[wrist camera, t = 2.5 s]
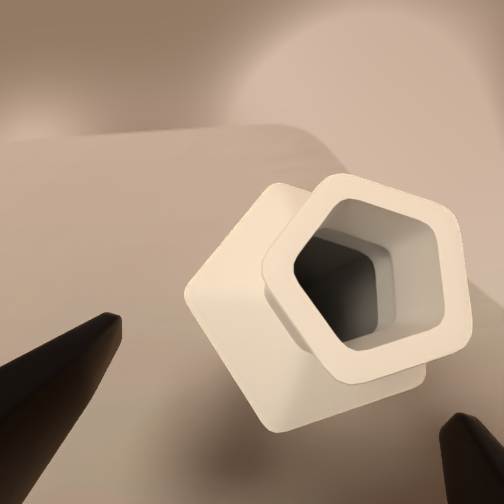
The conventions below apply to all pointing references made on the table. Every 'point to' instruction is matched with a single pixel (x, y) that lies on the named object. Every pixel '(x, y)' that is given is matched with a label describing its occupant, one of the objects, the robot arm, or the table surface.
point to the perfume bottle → (333, 297)
